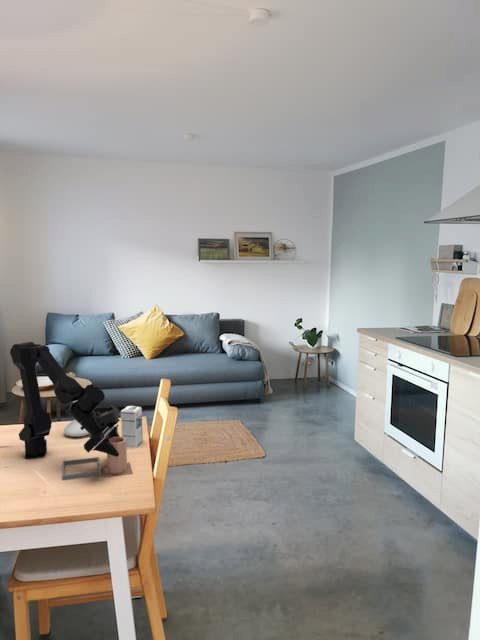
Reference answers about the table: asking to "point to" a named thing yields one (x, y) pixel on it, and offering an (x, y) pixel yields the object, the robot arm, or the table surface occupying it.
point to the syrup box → (132, 425)
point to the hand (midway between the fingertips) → (121, 451)
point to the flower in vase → (74, 422)
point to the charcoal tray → (81, 475)
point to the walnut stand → (127, 472)
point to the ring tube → (119, 462)
